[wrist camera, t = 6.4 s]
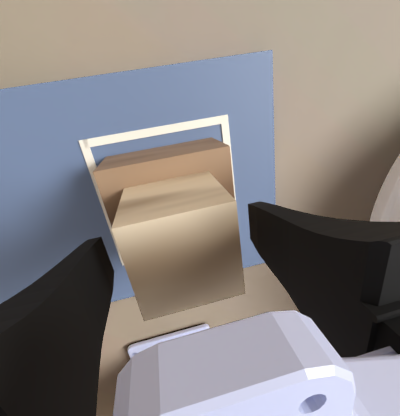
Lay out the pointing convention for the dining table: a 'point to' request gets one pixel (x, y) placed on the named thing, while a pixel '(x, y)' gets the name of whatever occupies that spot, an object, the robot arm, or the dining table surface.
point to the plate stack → (389, 197)
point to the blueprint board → (121, 152)
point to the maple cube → (179, 243)
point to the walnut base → (162, 168)
